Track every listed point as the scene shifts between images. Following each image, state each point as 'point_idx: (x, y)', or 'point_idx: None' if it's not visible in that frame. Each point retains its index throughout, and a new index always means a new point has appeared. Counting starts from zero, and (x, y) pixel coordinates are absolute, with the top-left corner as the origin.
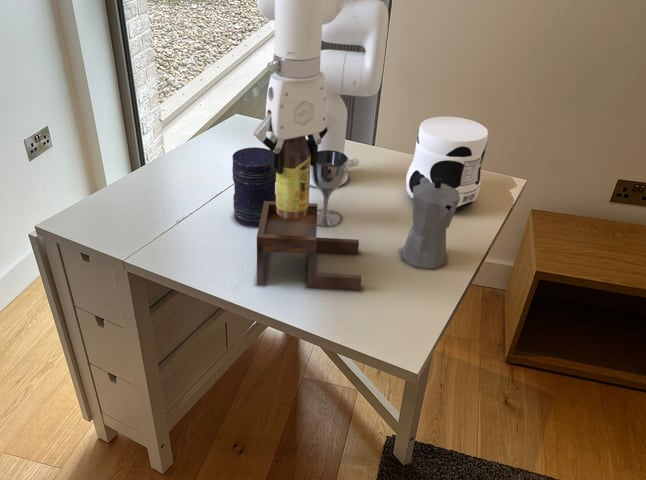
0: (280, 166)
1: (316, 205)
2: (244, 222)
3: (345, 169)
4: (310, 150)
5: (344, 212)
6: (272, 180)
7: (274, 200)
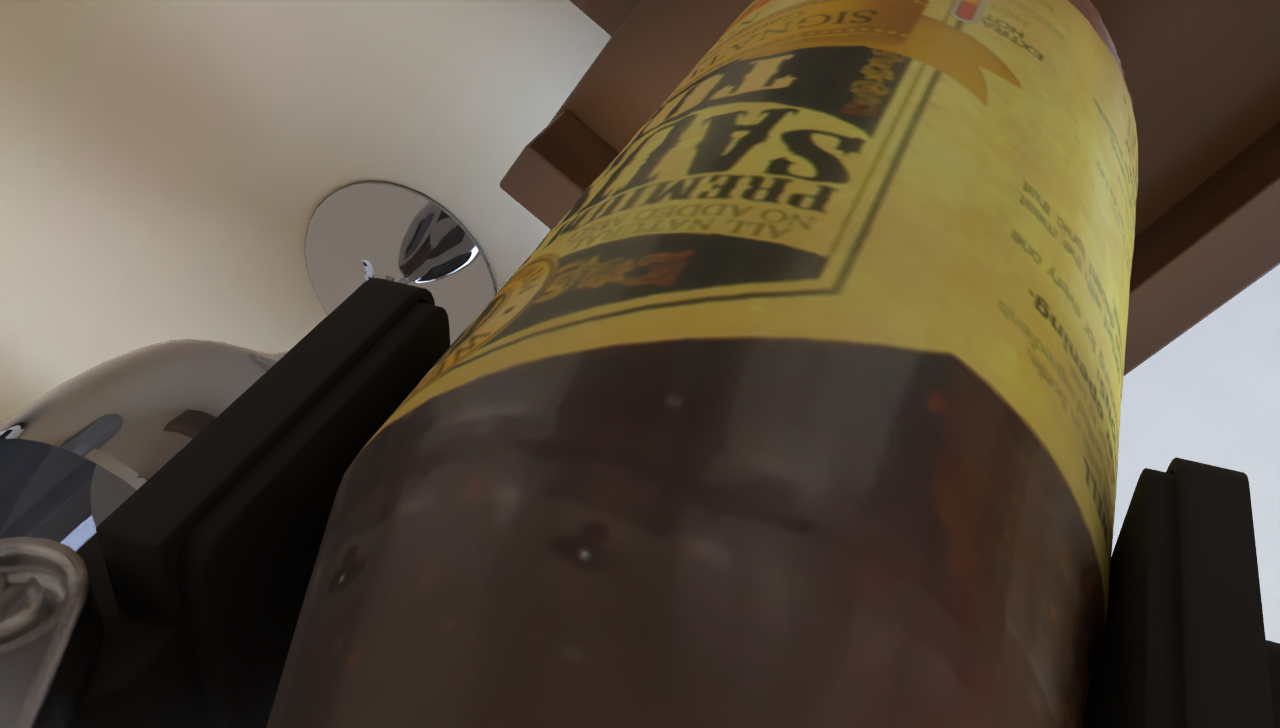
0: (1234, 582)
1: (525, 163)
2: None
3: (36, 400)
4: (296, 558)
5: (255, 253)
6: None
7: None
